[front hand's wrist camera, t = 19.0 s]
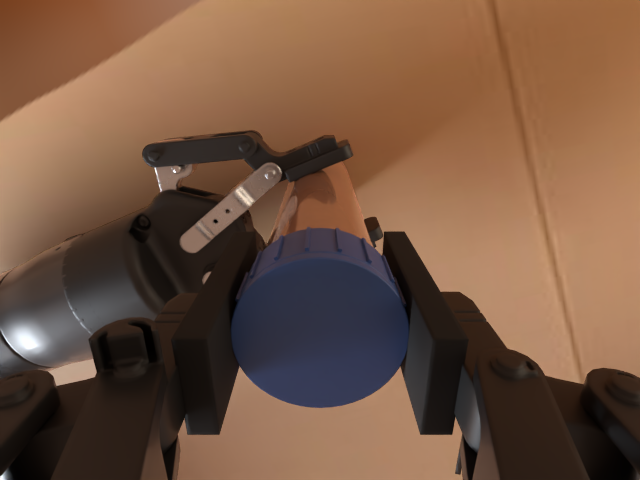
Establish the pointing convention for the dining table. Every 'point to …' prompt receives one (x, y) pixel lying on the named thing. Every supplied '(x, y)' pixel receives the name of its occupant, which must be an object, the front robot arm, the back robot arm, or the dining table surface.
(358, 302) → the lid
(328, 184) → the tall tan cylinder
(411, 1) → the dining table surface
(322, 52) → the dining table surface
